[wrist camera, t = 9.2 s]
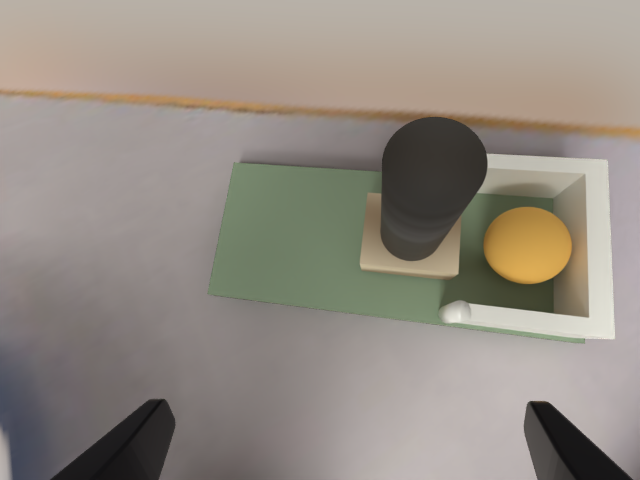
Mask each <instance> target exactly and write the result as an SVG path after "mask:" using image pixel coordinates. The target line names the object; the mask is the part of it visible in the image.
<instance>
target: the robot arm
mask: <svg viewBox="0 0 640 480" xmlns="http://www.w3.org/2000/svg"><path fill="white" fill-rule="evenodd" d="M174 429H175V418H174V415H173V413H172V411H171V409H170V407H169V404H168V402H167V401H166V400H165V399H150V400H148V401H147V402H145V403H144V404H143V405H142V406H140V407H139V408H138V409H137V410H135V411H134V412H133V413H132V414H131V415H129V416H128V417H127V418H126V419H124V420H123V421H122V422H121V423H119V424H118V425H117V426H116V427H115V428H113V429H112V430H111V431H110V432H108V433H107V434H106V435H105V436H103V437H102V438H101V439H100V440H98V441H97V442H96V443H95V444H94V445H92V446H91V447H90V448H89V449H87V450H86V451H85V452H84V453H82V454H81V455H80V456H79V457H78V458H76V459H75V460H74V461H73V462H71V463H70V464H69V465H68V466H66V467H65V468H64V469H63V470H62V471H60V472H59V473H58V474H57V475H55V476H54V477H53V478H52V479H50V480H159V477H160V474H161V471H162V468H163V465H164V461H165V458H166V455H167V452H168V449H169V445H170V442H171V439H172V436H173V433H174ZM524 433H525V437H526V441H527V444H528V448H529V451H530V455H531V458H532V462H533V465H534V469H535V472H536V476H537V479H538V480H633V479H632V478H631V477H630V476H629V475H628V474H627V473H625V472H624V471H623V470H622V469H621V468H620V467H619V466H618V465H617V464H616V463H615V462H614V461H612V460H611V459H610V458H609V457H608V456H607V455H606V454H605V453H604V452H603V451H602V450H601V449H599V448H598V447H597V446H596V445H595V444H594V443H593V442H592V441H591V440H590V439H589V438H587V437H586V436H585V435H584V434H583V433H582V432H581V431H580V430H579V429H578V428H577V427H576V426H574V425H573V424H572V423H571V422H570V421H569V420H568V419H567V418H566V417H565V416H564V415H562V414H561V413H560V412H559V411H558V410H557V409H556V408H555V407H554V406H553V405H552V404H550V403H549V402H546V401H529V402H528V404H527V407H526V414H525V420H524Z"/></svg>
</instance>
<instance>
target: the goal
mask: <svg viewBox="0 0 640 480" xmlns="http://www.w3.org/2000/svg"><path fill="white" fill-rule="evenodd" d="M487 161H488V167H487V174H486V177H485V180H484V182H483V184H482V186H481V188H480V189H479V191H478V192H477V193H483V194H498V195H512V196H527V197H541V198H553V214H554V215H555V216H557V217H558V218H559V219H560V220H561V221H562V222H563V223H564V224H565V226H566V227H567V229H568V231H569V233H570V236H571V240H572V251H571V255H570V258H569V261H568V262H567V264H566V266H565V267H564V268H563V269H562V271H560V272H559V273H558V274H557V275H556V276H554V314H553V313H545V312H536V311H528V310H520V309H511V308H503V307H495V306H486V305H478V304H470V303H467V302H465V301H462V300H458V301H455V302H452V303H450V304H447V305H445V306H443V307H441V308H440V309H439V312H438V316H439V318H440V320H441V321H442V322H444V323H462V324H470V325H477V326H485V327H493V328H500V329H508V330H516V331H524V332H531V333H539V334H547V335H554V336H562V337H570V338H588V339H615V328H614V303H613V279H612V254H611V229H610V204H609V179H608V160H601V159H582V158H562V157H543V156H523V155H504V154H487Z"/></svg>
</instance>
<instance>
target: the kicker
mask: <svg viewBox="0 0 640 480" xmlns="http://www.w3.org/2000/svg"><path fill="white" fill-rule="evenodd" d="M487 167H488V161H487V154H486V151H485V148H484V146H483V144H482V142H481V140H480V139H479V138H478V136H477V135H476V134H475V133H474V132H473V131H472V130H471V129H469V128H468V127H467V126H465V125H463V124H462V123H459V122H457V121H455V120H452V119H448V118H442V117H428V118H422V119H418V120H415V121H413V122H410V123H408V124H406V125H405V126H403V127H402V128H400V129H399V130H398V131H397V132H396V133H395V134H394V135H393V136H392V137H391V139H390V140H389V142H388V143H387V146H386V148H385V150H384V153H383V159H382V191H381V194H380V193H368V194H367V203H366V212H365V221H364V229H363V238H362V247H361V256H360V267H361V270H362V271H369V272H378V273H387V274H396V275H405V276H414V277H423V278H432V279H441V280H451V279H452V278H454V277H455V276H456V275H458V271H459V252H460V233H461V214H462V213H463V212H464V210H465V209H466V207H467V206H468V205H469V203H470V202H471V200H472V199H473V198H474V196H475V195H476V193H477V192H478V191H479V189H480V188H481V186H482V184H483V182H484V180H485V177H486V174H487Z"/></svg>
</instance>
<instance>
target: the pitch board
mask: <svg viewBox="0 0 640 480" xmlns="http://www.w3.org/2000/svg"><path fill="white" fill-rule="evenodd" d="M381 191H382V172H378V171H362V170H346V169H330V168H314V167H298V166H282V165H266V164H250V163H234V165H233V169H232V174H231V179H230V184H229V189H228V194H227V199H226V204H225V209H224V214H223V219H222V224H221V229H220V234H219V239H218V244H217V249H216V254H215V259H214V264H213V269H212V274H211V279H210V284H209V289H208V294H210V295H215V296H222V297H230V298H237V299H245V300H253V301H260V302H268V303H275V304H283V305H291V306H298V307H306V308H313V309H321V310H329V311H336V312H344V313H351V314H359V315H367V316H374V317H382V318H389V319H397V320H405V321H412V322H420V323H427V324H435V325H443V326H450V327H458V328H465V329H473V330H481V331H488V332H496V333H503V334H511V335H519V336H526V337H534V338H541V339H549V340H557V341H564V342H572V343H585V338H570V337H562V336H554V335H547V334H539V333H531V332H524V331H516V330H508V329H500V328H493V327H485V326H477V325H470V324H462V323H444V322H442V321H441V320H440V318H439V316H438V312H439V309H440V308H441V307H443V306H445V305H447V304H450V303H452V302H455V301H458V300H462V301H465V302H467V303H470V304H478V305H486V306H495V307H503V308H511V309H520V310H528V311H536V312H545V313H553V314H554V277H553V278H551V279H549V280H546V281H544V282H540V283H536V284H521V283H516V282H512V281H510V280H507V279H505V278H503V277H502V276H500V275H499V274H498V273H496V272H495V271H494V270H493V269H492V267H491V266H490V265H489V263H488V261H487V259H486V257H485V254H484V248H483V243H484V237H485V233H486V231H487V229H488V227H489V226H490V224H491V223H492V222H493V221H494V220H495V219H496V218H497V217H498V216H499V215H501V214H503V213H504V212H506V211H509V210H511V209H514V208H519V207H535V208H540V209H544V210H546V211H548V212H551V213H552V214H553V198H541V197H527V196H512V195H498V194H483V193H476V195H475V196H474V198H473V199H472V200H471V202H470V203H469V205H468V206H467V207H466V209H465V210H464V212H463V213H462V214H461V233H460V252H459V271H458V275H456V276H455V277H454V278H452V279H451V280H441V279H432V278H423V277H414V276H405V275H396V274H387V273H378V272H369V271H362V270H361V267H360V256H361V247H362V238H363V229H364V221H365V212H366V203H367V194H368V193H380V194H381Z"/></svg>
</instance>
